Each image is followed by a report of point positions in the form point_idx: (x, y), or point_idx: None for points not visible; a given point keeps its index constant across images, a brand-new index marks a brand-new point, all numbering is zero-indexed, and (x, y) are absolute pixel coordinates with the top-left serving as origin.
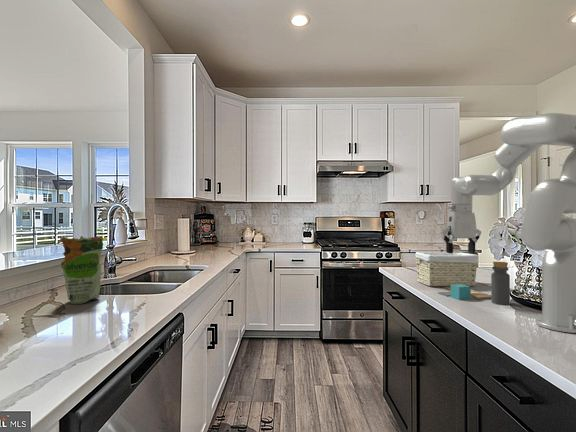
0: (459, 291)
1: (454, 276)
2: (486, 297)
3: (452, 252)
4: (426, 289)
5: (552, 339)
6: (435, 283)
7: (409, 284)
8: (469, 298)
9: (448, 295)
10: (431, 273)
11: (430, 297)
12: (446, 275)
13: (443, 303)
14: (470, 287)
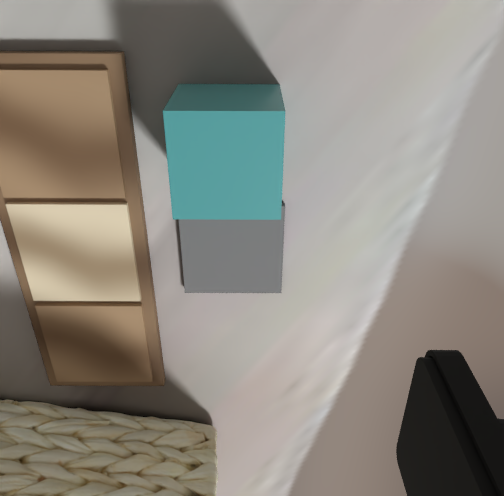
0: (279, 101)
1: (43, 455)
2: (43, 66)
3: (443, 358)
4: (277, 379)
5: None
6: (184, 430)
7: (285, 481)
8: (188, 85)
9: None
10: (202, 493)
11: (418, 199)
12: (96, 470)
13: (482, 7)
14: (165, 107)
